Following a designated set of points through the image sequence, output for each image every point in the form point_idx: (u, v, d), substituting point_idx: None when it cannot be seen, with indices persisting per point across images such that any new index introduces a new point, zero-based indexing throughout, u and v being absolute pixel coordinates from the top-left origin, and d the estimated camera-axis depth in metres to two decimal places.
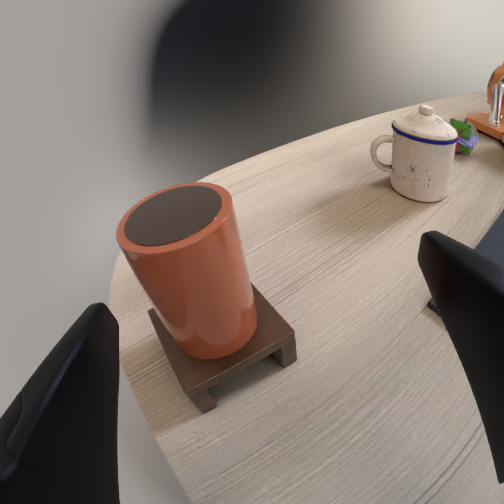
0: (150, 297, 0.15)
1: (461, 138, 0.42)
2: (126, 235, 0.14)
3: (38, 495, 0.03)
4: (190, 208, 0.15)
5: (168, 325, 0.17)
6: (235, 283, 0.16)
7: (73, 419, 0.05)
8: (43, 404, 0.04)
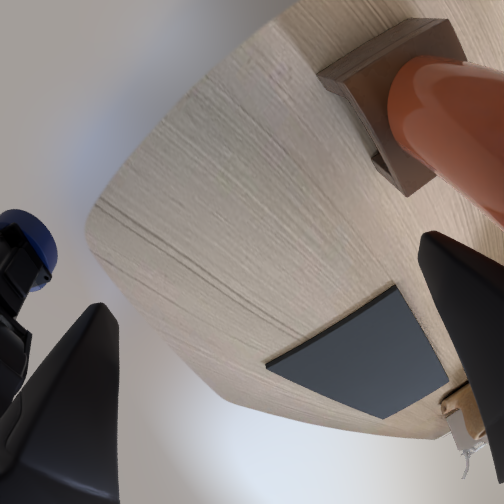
0: (475, 97, 0.07)
1: None
2: None
3: (38, 495, 0.03)
4: None
5: (434, 88, 0.09)
6: (468, 200, 0.10)
7: (73, 419, 0.05)
8: (43, 404, 0.04)
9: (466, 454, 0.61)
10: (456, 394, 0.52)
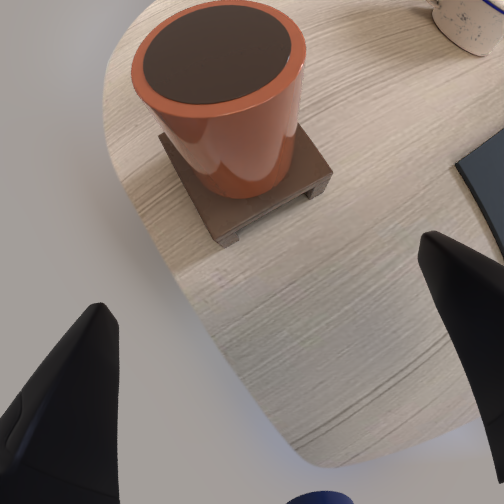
0: (180, 149, 0.12)
1: None
2: (149, 83, 0.09)
3: (38, 495, 0.03)
4: (243, 43, 0.08)
5: (197, 171, 0.14)
6: (290, 132, 0.12)
7: (73, 419, 0.05)
8: (43, 404, 0.04)
9: None
10: None
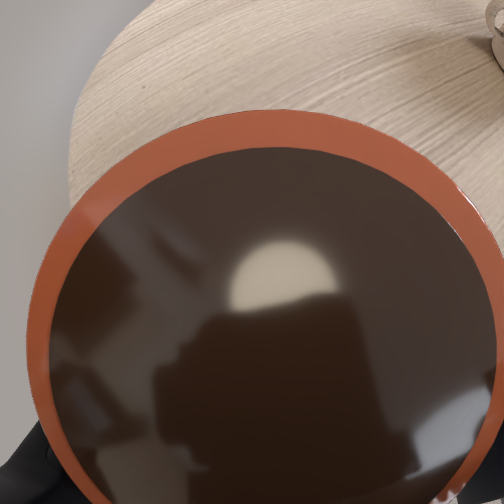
0: None
1: None
2: (101, 488, 0.03)
3: None
4: (377, 411, 0.02)
5: None
6: None
7: None
8: None
9: None
10: None
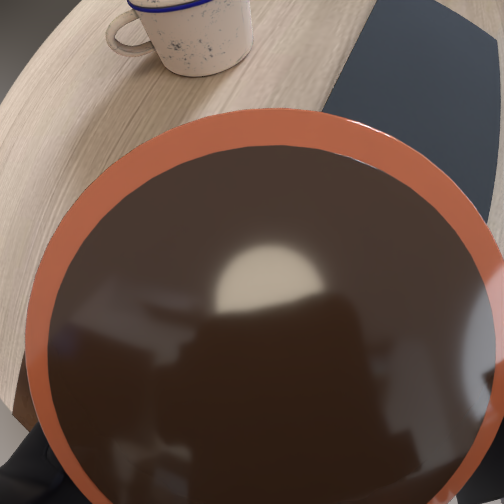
0: None
1: None
2: (100, 487, 0.03)
3: None
4: (374, 409, 0.02)
5: None
6: None
7: None
8: None
9: None
10: None
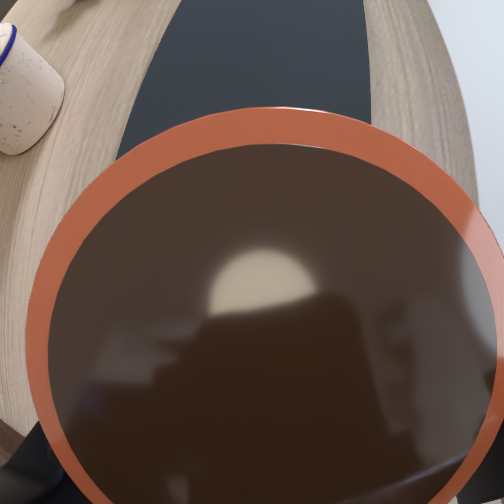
0: None
1: None
2: (100, 486, 0.03)
3: None
4: (376, 408, 0.02)
5: None
6: None
7: None
8: None
9: None
10: None
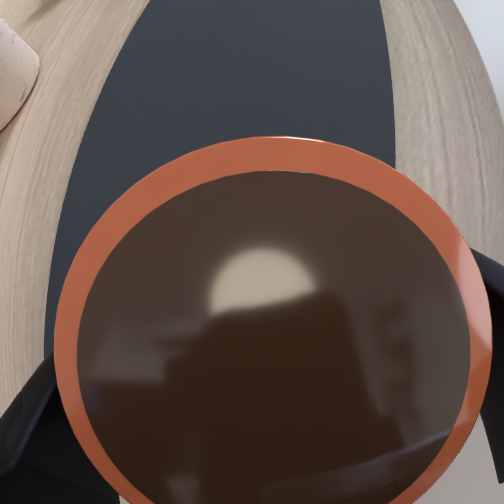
0: None
1: None
2: (120, 469, 0.03)
3: (38, 495, 0.03)
4: (361, 393, 0.03)
5: None
6: None
7: None
8: (43, 404, 0.04)
9: None
10: None
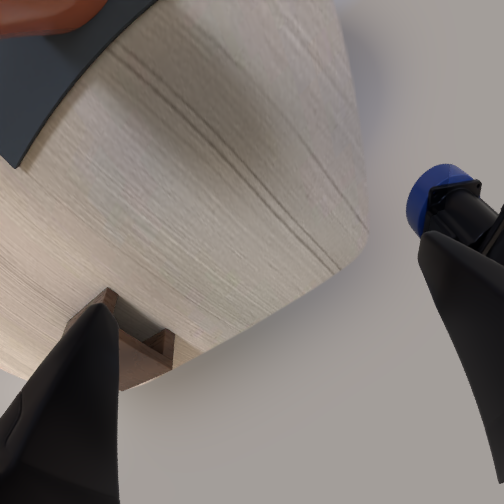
0: (20, 30, 0.07)
1: None
2: None
3: (38, 495, 0.03)
4: None
5: (51, 26, 0.08)
6: None
7: (73, 419, 0.05)
8: (43, 404, 0.04)
9: None
10: None
